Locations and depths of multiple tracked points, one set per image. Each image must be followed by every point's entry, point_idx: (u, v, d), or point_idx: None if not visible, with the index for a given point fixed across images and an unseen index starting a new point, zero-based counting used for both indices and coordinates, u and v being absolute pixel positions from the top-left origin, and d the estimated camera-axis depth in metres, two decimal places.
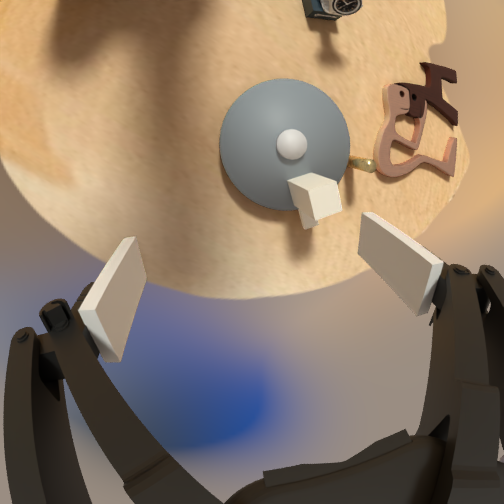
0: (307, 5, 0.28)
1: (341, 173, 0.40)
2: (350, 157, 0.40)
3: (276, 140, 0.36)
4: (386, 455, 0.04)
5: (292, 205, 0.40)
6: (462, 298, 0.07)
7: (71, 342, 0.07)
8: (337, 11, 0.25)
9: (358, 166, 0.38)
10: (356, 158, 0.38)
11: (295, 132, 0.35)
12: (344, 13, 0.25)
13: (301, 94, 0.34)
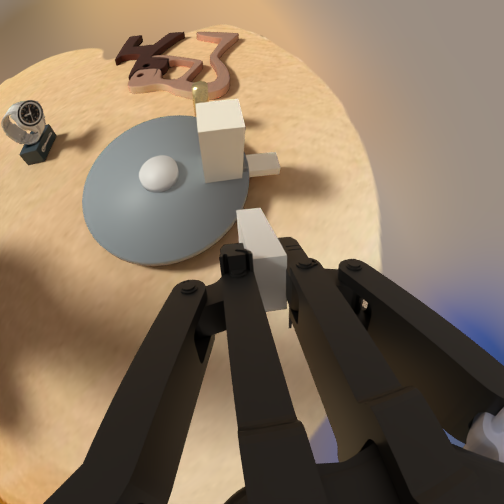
0: (33, 158, 0.30)
1: None
2: None
3: (149, 190, 0.27)
4: None
5: (242, 179, 0.29)
6: (321, 297, 0.08)
7: (243, 290, 0.09)
8: (36, 123, 0.26)
9: (201, 102, 0.30)
10: (194, 107, 0.31)
11: (144, 167, 0.27)
12: (40, 117, 0.26)
13: (108, 162, 0.29)
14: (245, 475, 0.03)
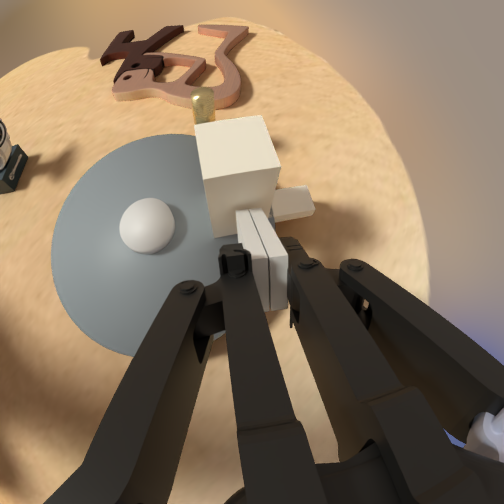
0: (1, 187, 0.23)
1: None
2: None
3: (136, 252, 0.20)
4: None
5: None
6: (322, 297, 0.08)
7: (242, 290, 0.09)
8: None
9: (205, 117, 0.22)
10: (195, 123, 0.23)
11: (126, 217, 0.20)
12: (2, 139, 0.18)
13: (78, 206, 0.21)
14: (244, 475, 0.03)
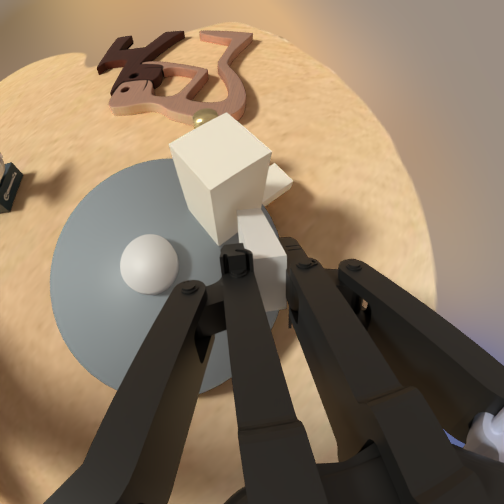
0: None
1: (172, 161, 0.23)
2: None
3: (151, 294, 0.19)
4: None
5: None
6: (321, 297, 0.08)
7: (244, 290, 0.09)
8: None
9: None
10: None
11: (124, 265, 0.18)
12: None
13: (67, 279, 0.19)
14: (245, 475, 0.03)
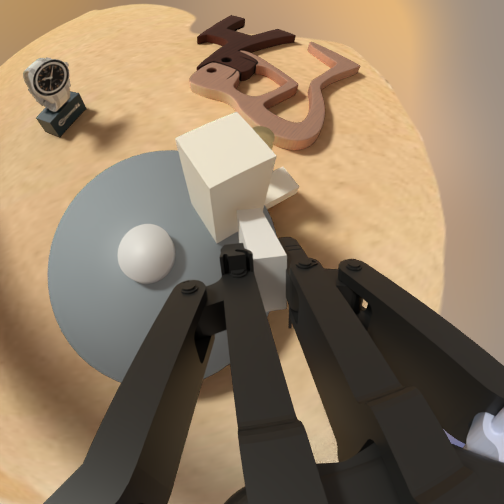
0: (48, 128, 0.25)
1: None
2: None
3: (145, 283, 0.19)
4: None
5: None
6: (320, 297, 0.08)
7: (244, 290, 0.09)
8: (53, 92, 0.20)
9: None
10: None
11: (122, 252, 0.19)
12: (61, 86, 0.20)
13: (65, 258, 0.19)
14: (245, 475, 0.03)
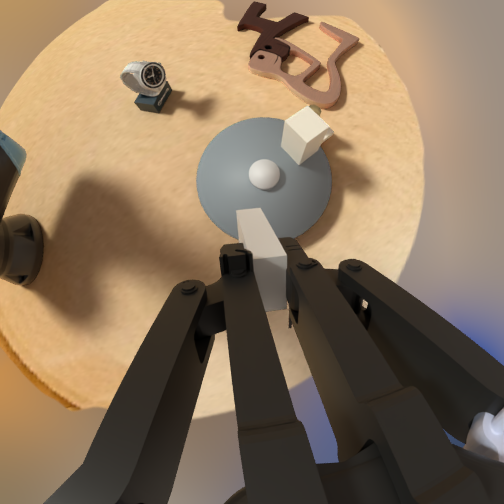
0: (147, 108, 0.41)
1: (266, 119, 0.39)
2: None
3: (267, 189, 0.38)
4: None
5: (318, 151, 0.38)
6: (321, 297, 0.08)
7: (243, 290, 0.09)
8: (158, 85, 0.35)
9: None
10: None
11: (251, 175, 0.38)
12: (162, 80, 0.35)
13: (211, 185, 0.39)
14: (245, 475, 0.03)
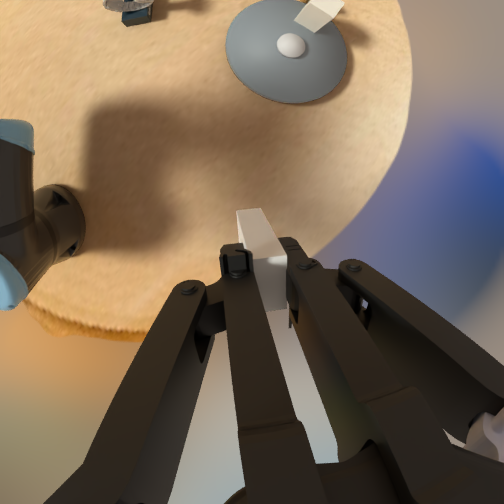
0: (137, 21, 0.28)
1: (271, 0, 0.29)
2: (303, 1, 0.30)
3: (297, 57, 0.34)
4: None
5: None
6: (321, 297, 0.08)
7: (243, 290, 0.09)
8: None
9: None
10: None
11: (282, 48, 0.32)
12: None
13: (247, 65, 0.34)
14: (245, 475, 0.03)
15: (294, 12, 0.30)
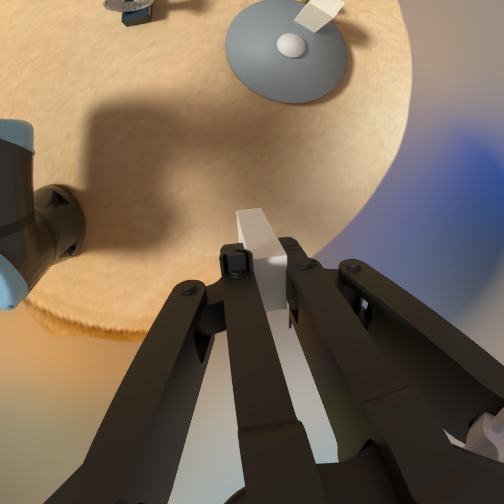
0: (137, 21, 0.28)
1: (271, 0, 0.29)
2: (303, 1, 0.30)
3: (297, 57, 0.34)
4: None
5: None
6: (321, 297, 0.08)
7: (243, 290, 0.09)
8: None
9: None
10: None
11: (282, 48, 0.32)
12: None
13: (247, 65, 0.34)
14: (245, 475, 0.03)
15: (294, 12, 0.30)
